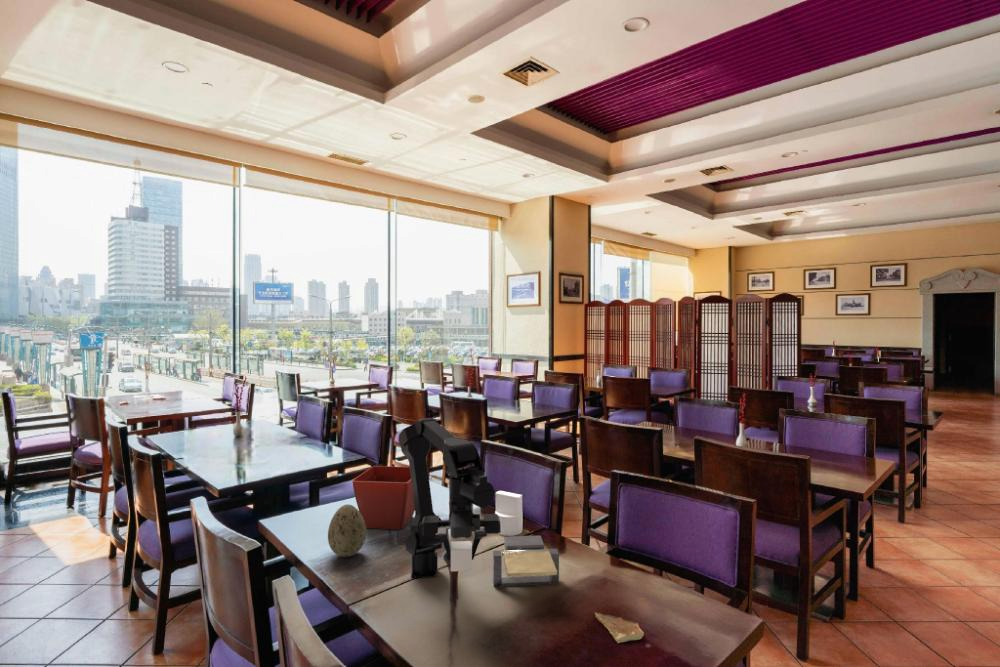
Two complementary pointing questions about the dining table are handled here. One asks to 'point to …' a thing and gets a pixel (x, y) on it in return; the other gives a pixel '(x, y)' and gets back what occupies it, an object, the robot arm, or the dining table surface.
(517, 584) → the frame
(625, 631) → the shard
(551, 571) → the trapdoor
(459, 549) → the cube
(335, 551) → the decorative egg
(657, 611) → the dining table surface
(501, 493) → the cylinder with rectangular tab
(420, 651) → the dining table surface
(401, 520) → the plant pot
